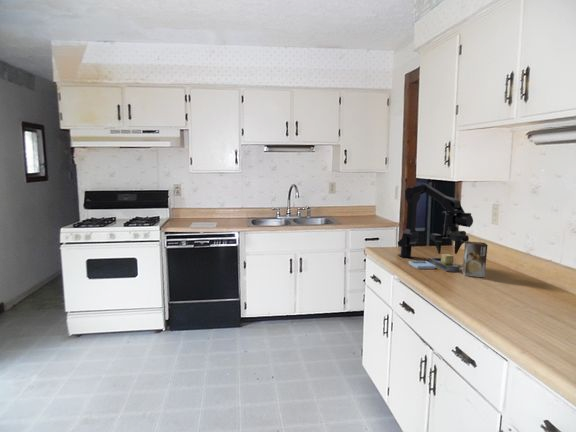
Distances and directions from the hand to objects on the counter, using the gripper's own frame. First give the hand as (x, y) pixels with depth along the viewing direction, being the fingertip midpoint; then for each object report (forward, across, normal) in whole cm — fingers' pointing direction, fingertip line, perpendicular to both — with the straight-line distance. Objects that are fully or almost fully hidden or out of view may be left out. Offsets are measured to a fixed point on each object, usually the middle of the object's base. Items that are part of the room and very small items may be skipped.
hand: (447, 253), depth 201 cm
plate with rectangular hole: (+8, 0, +3) cm, 8 cm away
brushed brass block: (+8, 0, 0) cm, 8 cm away
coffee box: (+8, +7, -12) cm, 16 cm away
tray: (+8, -11, +4) cm, 14 cm away
